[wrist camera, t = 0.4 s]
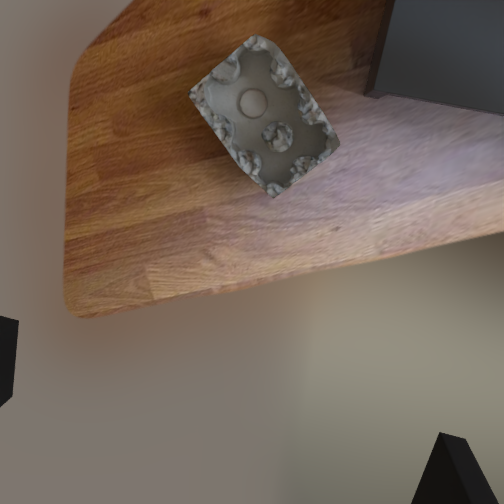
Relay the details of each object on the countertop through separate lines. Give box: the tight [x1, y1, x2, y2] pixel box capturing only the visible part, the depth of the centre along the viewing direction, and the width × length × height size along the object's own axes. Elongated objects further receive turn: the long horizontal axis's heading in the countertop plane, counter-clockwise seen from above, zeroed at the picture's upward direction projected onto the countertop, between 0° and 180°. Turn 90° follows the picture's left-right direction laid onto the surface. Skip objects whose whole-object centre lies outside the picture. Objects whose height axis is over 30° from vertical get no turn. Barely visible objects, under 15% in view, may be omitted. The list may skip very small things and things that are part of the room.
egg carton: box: [188, 34, 340, 198], centre depth 35 cm, size 11×8×4 cm
